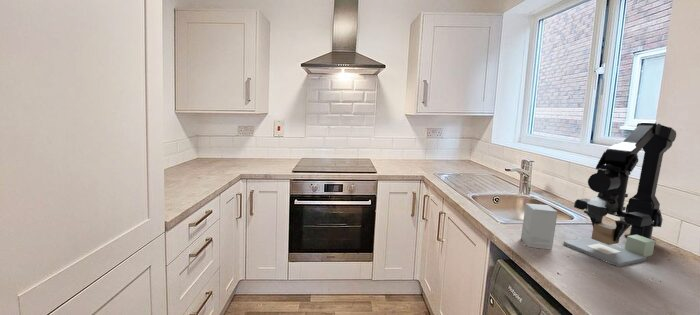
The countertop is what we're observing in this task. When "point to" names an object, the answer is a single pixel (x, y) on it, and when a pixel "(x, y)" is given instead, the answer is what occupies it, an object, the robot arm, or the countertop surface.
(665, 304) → the countertop surface
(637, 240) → the sage block
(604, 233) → the walnut block
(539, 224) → the supplement box
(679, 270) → the countertop surface
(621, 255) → the plate
